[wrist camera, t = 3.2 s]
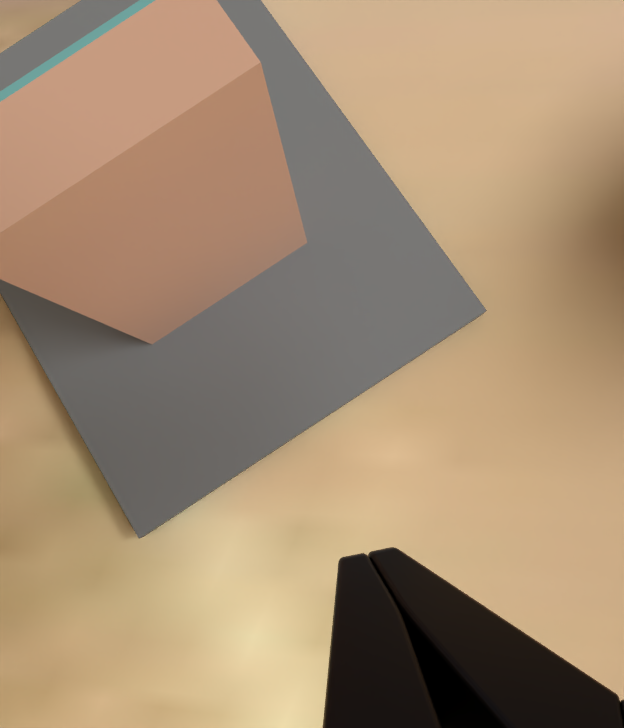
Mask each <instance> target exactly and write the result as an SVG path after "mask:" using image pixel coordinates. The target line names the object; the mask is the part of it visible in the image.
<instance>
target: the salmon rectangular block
mask: <svg viewBox="0 0 624 728" xmlns="http://www.w3.org/2000/svg"><path fill="white" fill-rule="evenodd" d="M306 243H307V239H306V235H305V232H304V228H303V224H302V220H301V216H300V212H299V208H298V205H297V201H296V197H295V193H294V189H293V185H292V181H291V177H290V174H289V170H288V166H287V162H286V158H285V154H284V150H283V146H282V143H281V139H280V135H279V131H278V127H277V123H276V119H275V115H274V112H273V108H272V104H271V100H270V96H269V92H268V88H267V84H266V81H265V77H264V73H263V69H262V65H261V62H260V60H259V59H258V58H257V56H256V55H255V53H254V52H253V51H252V49H251V48H250V46H249V45H248V44H247V42H246V41H245V39H244V38H243V36H242V35H241V34H240V32H239V31H238V29H237V28H236V27H235V25H234V24H233V22H232V21H231V20H230V18H229V17H228V15H227V14H226V13H225V11H224V10H223V8H222V7H221V6H220V4H219V3H218V1H217V0H139V1H138V2H136V3H135V4H133V5H131V6H130V7H128V8H127V9H125V10H124V11H122V12H121V13H119V14H118V15H116V16H115V17H113V18H112V19H110V20H109V21H107V22H106V23H104V24H102V25H101V26H99V27H98V28H96V29H95V30H93V31H92V32H90V33H89V34H87V35H86V36H84V37H83V38H81V39H80V40H78V41H77V42H75V43H73V44H72V45H70V46H69V47H67V48H66V49H64V50H63V51H61V52H60V53H58V54H57V55H55V56H54V57H52V58H51V59H49V60H48V61H46V62H44V63H43V64H41V65H40V66H38V67H37V68H35V69H34V70H32V71H31V72H29V73H28V74H26V75H25V76H23V77H22V78H20V79H19V80H17V81H15V82H14V83H12V84H11V85H9V86H8V87H6V88H5V89H3V90H2V91H0V279H1V280H3V281H5V282H8V283H10V284H12V285H15V286H17V287H19V288H22V289H24V290H26V291H29V292H31V293H33V294H36V295H38V296H40V297H43V298H45V299H47V300H50V301H52V302H54V303H57V304H59V305H61V306H64V307H66V308H68V309H71V310H73V311H75V312H78V313H80V314H82V315H85V316H87V317H89V318H91V319H94V320H96V321H98V322H101V323H103V324H105V325H108V326H110V327H112V328H115V329H117V330H119V331H122V332H124V333H126V334H129V335H131V336H133V337H136V338H138V339H140V340H143V341H145V342H147V343H150V344H154V343H155V342H157V341H158V340H160V339H161V338H163V337H164V336H166V335H167V334H169V333H170V332H172V331H173V330H175V329H176V328H178V327H180V326H181V325H183V324H184V323H186V322H187V321H189V320H190V319H192V318H193V317H195V316H196V315H198V314H199V313H201V312H202V311H204V310H205V309H207V308H208V307H210V306H212V305H213V304H215V303H216V302H218V301H219V300H221V299H222V298H224V297H225V296H227V295H228V294H230V293H231V292H233V291H234V290H236V289H237V288H239V287H241V286H242V285H244V284H245V283H247V282H248V281H250V280H251V279H253V278H254V277H256V276H257V275H259V274H260V273H262V272H263V271H265V270H266V269H268V268H269V267H271V266H273V265H274V264H276V263H277V262H279V261H280V260H282V259H283V258H285V257H286V256H288V255H289V254H291V253H292V252H294V251H295V250H297V249H298V248H300V247H302V246H303V245H305V244H306Z"/></svg>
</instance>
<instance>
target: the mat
mask: <svg viewBox="0 0 624 728" xmlns="http://www.w3.org/2000/svg"><path fill="white" fill-rule="evenodd" d="M138 1H139V0H81V1H79V2H78V3H76V4H75V5H73V6H72V7H70V8H69V9H67V10H66V11H64V12H63V13H61V14H60V15H58V16H57V17H55V18H53V19H52V20H50V21H49V22H47V23H46V24H44V25H43V26H41V27H40V28H38V29H37V30H35V31H34V32H32V33H31V34H29V35H28V36H26V37H24V38H23V39H21V40H20V41H18V42H17V43H15V44H14V45H12V46H11V47H9V48H8V49H6V50H5V51H3V52H2V53H0V91H2V90H3V89H5V88H6V87H8V86H9V85H11V84H12V83H14V82H15V81H17V80H19V79H20V78H22V77H23V76H25V75H26V74H28V73H29V72H31V71H32V70H34V69H35V68H37V67H38V66H40V65H41V64H43V63H44V62H46V61H48V60H49V59H51V58H52V57H54V56H55V55H57V54H58V53H60V52H61V51H63V50H64V49H66V48H67V47H69V46H70V45H72V44H73V43H75V42H77V41H78V40H80V39H81V38H83V37H84V36H86V35H87V34H89V33H90V32H92V31H93V30H95V29H96V28H98V27H99V26H101V25H102V24H104V23H106V22H107V21H109V20H110V19H112V18H113V17H115V16H116V15H118V14H119V13H121V12H122V11H124V10H125V9H127V8H128V7H130V6H131V5H133V4H135V3H136V2H138ZM217 1H218V3H219V4H220V6H221V7H222V8H223V10H224V11H225V13H226V14H227V15H228V17H229V18H230V20H231V21H232V22H233V24H234V25H235V27H236V28H237V29H238V31H239V32H240V34H241V35H242V36H243V38H244V39H245V41H246V42H247V44H248V45H249V46H250V48H251V49H252V51H253V52H254V53H255V55H256V56H257V58H258V59H259V60H260V62H261V65H262V69H263V73H264V77H265V81H266V84H267V88H268V92H269V96H270V100H271V104H272V108H273V112H274V115H275V119H276V123H277V127H278V131H279V135H280V139H281V143H282V146H283V150H284V154H285V158H286V162H287V166H288V170H289V174H290V177H291V181H292V185H293V189H294V193H295V197H296V201H297V205H298V208H299V212H300V216H301V220H302V224H303V228H304V232H305V235H306V239H307V243H306V244H305V245H303V246H302V247H300V248H298V249H297V250H295V251H294V252H292V253H291V254H289V255H288V256H286V257H285V258H283V259H282V260H280V261H279V262H277V263H276V264H274V265H273V266H271V267H269V268H268V269H266V270H265V271H263V272H262V273H260V274H259V275H257V276H256V277H254V278H253V279H251V280H250V281H248V282H247V283H245V284H244V285H242V286H241V287H239V288H237V289H236V290H234V291H233V292H231V293H230V294H228V295H227V296H225V297H224V298H222V299H221V300H219V301H218V302H216V303H215V304H213V305H212V306H210V307H208V308H207V309H205V310H204V311H202V312H201V313H199V314H198V315H196V316H195V317H193V318H192V319H190V320H189V321H187V322H186V323H184V324H183V325H181V326H180V327H178V328H176V329H175V330H173V331H172V332H170V333H169V334H167V335H166V336H164V337H163V338H161V339H160V340H158V341H157V342H155V343H154V344H150V343H147V342H145V341H143V340H140V339H138V338H136V337H133V336H131V335H129V334H126V333H124V332H122V331H119V330H117V329H115V328H112V327H110V326H108V325H105V324H103V323H101V322H98V321H96V320H94V319H91V318H89V317H87V316H85V315H82V314H80V313H78V312H75V311H73V310H71V309H68V308H66V307H64V306H61V305H59V304H57V303H54V302H52V301H50V300H47V299H45V298H43V297H40V296H38V295H36V294H33V293H31V292H29V291H26V290H24V289H22V288H19V287H17V286H15V285H12V284H10V283H8V282H5V281H3V280H1V279H0V294H1V295H2V297H3V299H4V301H5V302H6V304H7V306H8V308H9V309H10V311H11V313H12V315H13V317H14V318H15V320H16V322H17V324H18V325H19V327H20V329H21V331H22V332H23V334H24V336H25V338H26V340H27V341H28V343H29V345H30V347H31V348H32V350H33V352H34V354H35V356H36V357H37V359H38V361H39V363H40V364H41V366H42V368H43V370H44V371H45V373H46V375H47V377H48V379H49V380H50V382H51V384H52V386H53V387H54V389H55V391H56V393H57V394H58V396H59V398H60V400H61V402H62V403H63V405H64V407H65V409H66V410H67V412H68V414H69V416H70V418H71V419H72V421H73V423H74V425H75V426H76V428H77V430H78V432H79V433H80V435H81V437H82V439H83V441H84V442H85V444H86V446H87V448H88V449H89V451H90V453H91V455H92V456H93V458H94V460H95V462H96V464H97V465H98V467H99V469H100V471H101V472H102V474H103V476H104V478H105V479H106V481H107V483H108V485H109V487H110V488H111V490H112V492H113V494H114V495H115V497H116V499H117V501H118V503H119V504H120V506H121V508H122V510H123V511H124V513H125V515H126V517H127V518H128V520H129V522H130V524H131V526H132V527H133V529H134V531H135V533H136V534H137V536H138V538H141V537H143V536H145V535H147V534H148V533H150V532H151V531H153V530H154V529H156V528H157V527H159V526H160V525H162V524H164V523H165V522H167V521H168V520H170V519H171V518H173V517H174V516H176V515H177V514H179V513H180V512H182V511H183V510H185V509H186V508H188V507H189V506H191V505H193V504H194V503H196V502H197V501H199V500H200V499H202V498H203V497H205V496H206V495H208V494H209V493H211V492H212V491H214V490H215V489H217V488H218V487H220V486H221V485H223V484H225V483H226V482H228V481H229V480H231V479H232V478H234V477H235V476H237V475H238V474H240V473H241V472H243V471H244V470H246V469H247V468H249V467H250V466H252V465H253V464H255V463H257V462H258V461H260V460H261V459H263V458H264V457H266V456H267V455H269V454H270V453H272V452H273V451H275V450H276V449H278V448H279V447H281V446H282V445H284V444H285V443H287V442H289V441H290V440H292V439H293V438H295V437H296V436H298V435H299V434H301V433H302V432H304V431H305V430H307V429H308V428H310V427H311V426H313V425H314V424H316V423H317V422H319V421H321V420H322V419H324V418H325V417H327V416H328V415H330V414H331V413H333V412H334V411H336V410H337V409H339V408H340V407H342V406H343V405H345V404H346V403H348V402H349V401H351V400H353V399H354V398H356V397H357V396H359V395H360V394H362V393H363V392H365V391H366V390H368V389H369V388H371V387H372V386H374V385H375V384H377V383H378V382H380V381H382V380H383V379H385V378H386V377H388V376H389V375H391V374H392V373H394V372H395V371H397V370H398V369H400V368H401V367H403V366H404V365H406V364H407V363H409V362H410V361H412V360H414V359H415V358H417V357H418V356H420V355H421V354H423V353H424V352H426V351H427V350H429V349H430V348H432V347H433V346H435V345H436V344H438V343H439V342H441V341H442V340H444V339H446V338H447V337H449V336H450V335H452V334H453V333H455V332H456V331H458V330H459V329H461V328H462V327H464V326H465V325H467V324H468V323H470V322H471V321H473V320H474V319H476V318H478V317H479V316H481V315H482V314H483V313H484V312H485V311H487V310H486V309H485V308H484V306H483V305H482V304H481V302H480V301H479V299H478V298H477V297H476V295H475V294H474V293H473V291H472V290H471V288H470V287H469V286H468V284H467V283H466V282H465V280H464V279H463V277H462V276H461V275H460V273H459V272H458V271H457V269H456V268H455V266H454V265H453V264H452V262H451V261H450V260H449V258H448V257H447V255H446V254H445V253H444V251H443V250H442V249H441V247H440V246H439V244H438V243H437V242H436V240H435V239H434V238H433V236H432V235H431V233H430V232H429V231H428V229H427V228H426V227H425V225H424V224H423V222H422V221H421V220H420V218H419V217H418V216H417V214H416V213H415V212H414V210H413V209H412V207H411V206H410V205H409V203H408V202H407V201H406V199H405V198H404V196H403V195H402V194H401V192H400V191H399V190H398V188H397V187H396V185H395V184H394V183H393V181H392V180H391V179H390V177H389V176H388V174H387V173H386V172H385V170H384V169H383V168H382V166H381V165H380V163H379V162H378V161H377V159H376V158H375V157H374V155H373V154H372V152H371V151H370V150H369V148H368V147H367V146H366V144H365V143H364V141H363V140H362V139H361V137H360V136H359V135H358V133H357V132H356V130H355V129H354V128H353V126H352V125H351V124H350V122H349V121H348V119H347V118H346V117H345V115H344V114H343V113H342V111H341V110H340V108H339V107H338V106H337V104H336V103H335V102H334V100H333V99H332V98H331V96H330V95H329V93H328V92H327V91H326V89H325V88H324V87H323V85H322V84H321V82H320V81H319V80H318V78H317V77H316V76H315V74H314V73H313V71H312V70H311V69H310V67H309V66H308V65H307V63H306V62H305V60H304V59H303V58H302V56H301V55H300V54H299V52H298V51H297V49H296V48H295V47H294V45H293V44H292V43H291V41H290V40H289V38H288V37H287V36H286V34H285V33H284V32H283V30H282V29H281V27H280V26H279V25H278V23H277V22H276V21H275V19H274V18H273V16H272V15H271V14H270V12H269V11H268V10H267V8H266V7H265V5H264V4H263V3H262V1H261V0H217Z"/></svg>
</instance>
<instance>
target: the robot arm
mask: <svg viewBox="0 0 624 728" xmlns="http://www.w3.org/2000/svg"><path fill="white" fill-rule="evenodd" d="M323 728H624V700H621V701H620V700H619V697H618V695H617V694H616V693H614V692H613V691H611V690H610V689H608V688H607V687H605V686H604V685H602V684H601V683H599V682H597V681H596V680H594V679H593V678H591V677H590V676H588V675H587V674H585V673H584V672H582V671H581V670H579V669H578V668H576V667H575V666H573V665H572V664H570V663H569V662H567V661H566V660H564V659H563V658H561V657H560V656H558V655H557V654H555V653H554V652H552V651H551V650H549V649H548V648H546V647H545V646H543V645H542V644H540V643H539V642H537V641H536V640H534V639H533V638H531V637H530V636H528V635H527V634H525V633H524V632H522V631H521V630H519V629H518V628H516V627H515V626H513V625H512V624H510V623H509V622H507V621H506V620H504V619H503V618H501V617H500V616H498V615H497V614H495V613H494V612H492V611H491V610H489V609H488V608H486V607H485V606H483V605H482V604H480V603H479V602H477V601H476V600H474V599H473V598H471V597H470V596H468V595H467V594H465V593H464V592H462V591H461V590H459V589H458V588H456V587H455V586H453V585H452V584H450V583H449V582H447V581H446V580H444V579H443V578H441V577H440V576H438V575H437V574H435V573H434V572H432V571H430V570H429V569H427V568H426V567H424V566H423V565H421V564H420V563H418V562H417V561H415V560H414V559H412V558H411V557H409V556H408V555H406V554H405V553H403V552H402V551H400V550H399V549H397V548H394V547H391V548H386V549H381V550H376V551H372V552H370V553H369V554H368V556H367V555H366V554H364V553H361V554H356V555H351V556H346V557H342V558H341V559H340V560H339V563H338V573H337V584H336V594H335V605H334V615H333V626H332V636H331V647H330V657H329V668H328V678H327V689H326V699H325V710H324V720H323Z"/></svg>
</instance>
